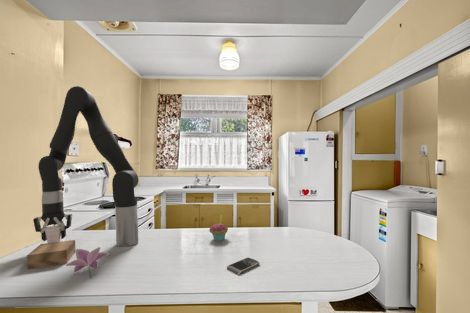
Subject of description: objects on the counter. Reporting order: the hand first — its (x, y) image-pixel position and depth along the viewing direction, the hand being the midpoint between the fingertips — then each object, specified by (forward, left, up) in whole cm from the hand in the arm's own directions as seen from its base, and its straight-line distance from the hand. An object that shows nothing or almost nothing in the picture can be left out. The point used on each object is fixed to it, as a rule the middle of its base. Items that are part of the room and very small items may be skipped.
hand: (54, 239), depth 107 cm
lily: (-19, +33, -4) cm, 38 cm away
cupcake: (-70, +18, -4) cm, 72 cm away
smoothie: (0, 0, -4) cm, 4 cm away
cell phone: (-70, +49, -5) cm, 86 cm away
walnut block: (-4, +14, -4) cm, 15 cm away
